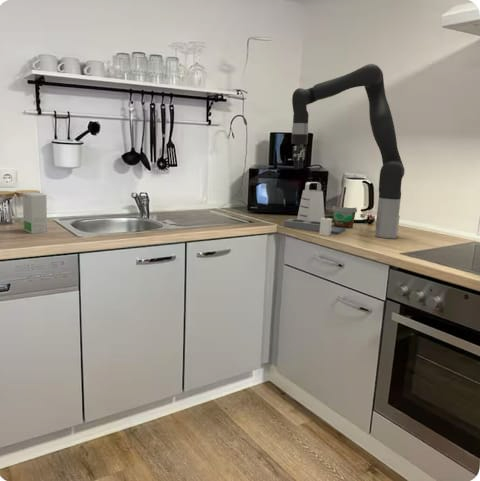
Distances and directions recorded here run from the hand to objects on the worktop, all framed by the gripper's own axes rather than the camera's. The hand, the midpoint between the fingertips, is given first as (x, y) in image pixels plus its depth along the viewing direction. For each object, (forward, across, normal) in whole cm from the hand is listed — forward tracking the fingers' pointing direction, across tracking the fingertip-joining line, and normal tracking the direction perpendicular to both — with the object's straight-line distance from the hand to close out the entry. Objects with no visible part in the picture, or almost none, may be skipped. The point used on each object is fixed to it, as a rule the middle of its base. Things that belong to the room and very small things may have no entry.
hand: (298, 168), depth 214 cm
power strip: (+28, -2, -6) cm, 29 cm away
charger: (+28, -13, -18) cm, 35 cm away
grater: (+28, +21, -3) cm, 35 cm away
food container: (+28, +10, -21) cm, 36 cm away
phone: (+28, -4, -20) cm, 35 cm away
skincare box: (+27, -74, +89) cm, 119 cm away
